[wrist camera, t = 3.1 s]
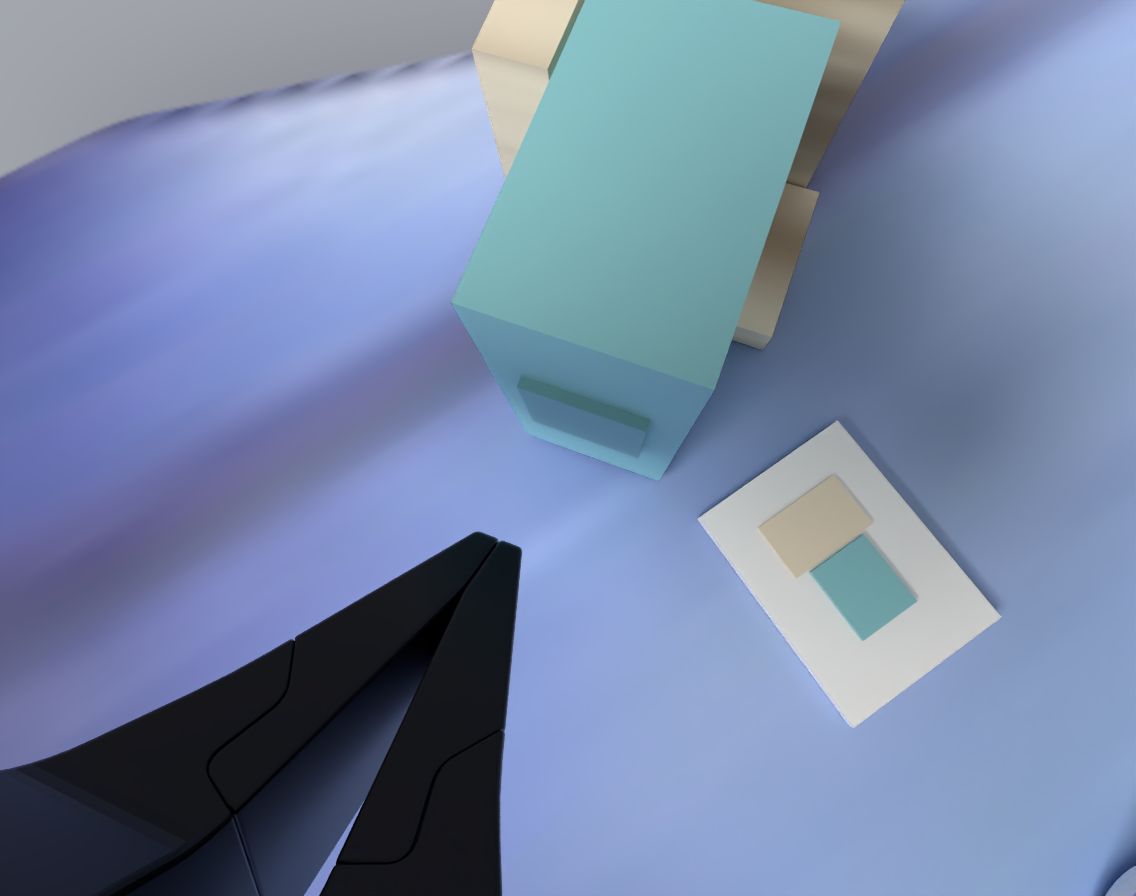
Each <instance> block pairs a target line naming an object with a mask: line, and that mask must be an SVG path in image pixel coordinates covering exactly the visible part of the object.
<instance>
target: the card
mask: <svg viewBox="0 0 1136 896" xmlns="http://www.w3.org/2000/svg"><path fill="white" fill-rule="evenodd" d="M697 520H698V521H699V522H700V524H701V525H702V526H703V528H704V529H705V530H706V532H707V533H708V534H709V536H710V537H711V539H712V540H713V541H714V543H715V544H716V545H717V547H718V548H719V549H720V551H721V552H722V554H723V555H724V556H725V558H726V559H727V560H728V562H729V563H730V564H731V566H732V567H733V568H734V570H735V571H736V573H737V574H738V575H739V577H740V578H741V579H742V581H743V582H744V583H745V585H746V586H747V588H748V589H749V590H750V592H751V593H752V594H753V596H754V597H755V598H756V600H757V601H758V602H759V604H760V605H761V607H762V608H763V609H764V611H765V612H766V613H767V615H768V616H769V617H770V619H771V620H772V622H773V623H774V624H775V626H776V627H777V628H778V630H779V631H780V632H781V634H782V635H783V636H784V638H785V639H786V641H787V642H788V643H789V645H790V646H791V647H792V649H793V650H794V651H795V653H796V654H797V656H798V657H799V658H800V660H801V661H802V662H803V664H804V665H805V666H806V668H807V669H808V670H809V672H810V673H811V675H812V676H813V677H814V679H815V680H816V681H817V683H818V684H819V685H820V687H821V688H822V690H823V691H824V692H825V694H826V695H827V696H828V698H829V699H830V700H831V702H832V703H833V704H834V706H835V707H836V709H837V710H838V711H839V713H840V714H841V715H842V717H843V718H844V719H845V721H846V722H847V723H848V725H850V726H851V727H853V728H854V727H856V726H857V725H858V724H860V723H861V722H862V721H864V720H865V719H866V718H868V717H869V716H870V715H872V714H873V713H874V712H876V711H877V710H878V709H880V708H881V707H882V706H884V705H885V704H886V703H888V702H889V701H890V700H892V699H893V698H894V697H896V696H897V695H898V694H900V693H901V692H902V691H904V690H905V689H906V688H908V687H909V686H910V685H912V684H913V683H914V682H916V681H917V680H918V679H920V678H921V677H922V676H924V675H925V674H926V673H928V672H929V671H930V670H932V669H933V668H935V667H936V666H937V665H939V664H940V663H941V662H943V661H944V660H945V659H947V658H948V657H949V656H951V655H952V654H953V653H955V652H956V651H957V650H959V649H960V648H961V647H963V646H964V645H965V644H967V643H968V642H969V641H971V640H972V639H973V638H975V637H976V636H977V635H979V634H980V633H981V632H983V631H984V630H985V629H987V628H988V627H989V626H991V625H992V624H993V623H995V622H996V621H997V620H999V619H1000V618H1001V616H1000V615H999V614H998V612H997V611H996V610H995V609H994V608H993V606H992V605H991V604H990V603H989V602H988V600H987V599H986V598H985V597H984V596H983V594H982V593H981V592H980V591H979V589H978V588H977V587H976V586H975V585H974V583H973V582H972V581H971V580H970V579H969V577H968V576H967V575H966V574H965V573H964V571H963V570H962V569H961V568H960V567H959V565H958V564H957V563H956V562H955V561H954V559H953V558H952V557H951V556H950V555H949V553H948V552H947V551H946V550H945V549H944V547H943V546H942V545H941V544H940V543H939V541H938V540H937V539H936V538H935V537H934V535H933V534H932V533H931V532H930V531H929V529H928V528H927V527H926V526H925V525H924V523H923V522H922V521H921V520H920V519H919V517H918V516H917V515H916V514H915V513H914V511H913V510H912V509H911V508H910V507H909V505H908V504H907V503H906V502H905V501H904V499H903V498H902V497H901V496H900V495H899V493H898V492H897V491H896V490H895V489H894V487H893V486H892V485H891V484H890V483H889V481H888V480H887V479H886V478H885V477H884V475H883V474H882V473H881V472H880V471H879V469H878V468H877V467H876V466H875V465H874V463H873V462H872V461H871V460H870V459H869V457H868V456H867V455H866V454H865V453H864V451H863V450H862V449H861V448H860V447H859V445H858V444H857V443H856V442H855V441H854V439H853V438H852V437H851V436H850V435H849V433H848V432H847V431H846V430H845V429H844V427H843V426H842V425H841V424H840V423H839V421H838V420H837V421H836V422H834V423H833V424H831V425H830V426H828V427H827V428H826V429H824V430H823V431H821V432H820V433H818V434H817V435H816V436H814V437H813V438H811V439H810V440H808V441H807V442H806V443H804V444H803V445H801V446H800V447H798V448H797V449H796V450H794V451H793V452H791V453H790V454H789V455H787V456H786V457H784V458H783V459H781V460H780V461H779V462H777V463H776V464H774V465H773V466H771V467H770V468H769V469H767V470H766V471H764V472H763V473H761V474H760V475H759V476H757V477H756V478H754V479H753V480H752V481H750V482H749V483H747V484H746V485H744V486H743V487H742V488H740V489H739V490H737V491H736V492H734V493H733V494H732V495H730V496H729V497H727V498H726V499H724V500H723V501H722V502H720V503H719V504H717V505H716V506H715V507H713V508H712V509H710V510H709V511H707V512H706V513H705V514H703V515H702V516H700V517H699V518H697Z"/></svg>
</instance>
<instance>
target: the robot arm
mask: <svg viewBox="0 0 1136 896" xmlns="http://www.w3.org/2000/svg"><path fill="white" fill-rule="evenodd" d="M521 558H522V549H521V548H520V547H518V546H516V545H513V544H511V543H508V542H505V541H500V542H499V541H498V539H497V538H495V537H492V536H490V535H487V534H485V533H482V532H474V533H472V534H470V535H469V536H467V537H465V538H464V539H462V540H460V541H458V542H457V543H455V544H453V545H452V546H450V547H448V548H446V549H445V550H443V551H441V552H440V553H438V554H436V555H434V556H433V557H431V558H429V559H428V560H426V561H424V562H423V563H421V564H419V565H417V566H416V567H414V568H412V569H411V570H409V571H407V572H405V573H404V574H402V575H400V576H399V577H397V578H395V579H393V580H392V581H390V582H388V583H387V584H385V585H383V586H381V587H380V588H378V589H376V590H375V591H373V592H371V593H369V594H368V595H366V596H364V597H363V598H361V599H359V600H357V601H356V602H354V603H352V604H351V605H349V606H347V607H346V608H344V609H342V610H340V611H339V612H337V613H335V614H334V615H332V616H330V617H328V618H327V619H325V620H323V621H322V622H320V623H318V624H316V625H315V626H313V627H311V628H310V629H308V630H306V631H304V632H303V633H301V634H299V635H298V636H296V638H295V641H294V640H292V639H291V640H289V641H287V642H285V643H283V644H282V645H280V646H278V647H277V648H275V649H273V650H272V651H270V652H268V653H266V654H265V655H263V656H261V657H259V658H257V659H255V660H254V661H252V662H250V663H248V664H246V665H245V666H243V667H241V668H239V669H237V670H236V671H234V672H232V673H230V674H228V675H226V676H224V677H222V678H220V679H218V680H216V681H214V682H212V683H210V684H208V685H206V686H204V687H202V688H200V689H198V690H196V691H194V692H192V693H190V694H188V695H186V696H183V697H181V698H179V699H177V700H175V701H173V702H171V703H169V704H166V705H164V706H162V707H160V708H158V709H156V710H154V711H152V712H149V713H147V714H145V715H143V716H141V717H139V718H137V719H135V720H133V721H130V722H128V723H126V724H124V725H122V726H120V727H118V728H116V729H113V730H111V731H109V732H107V733H105V734H103V735H101V736H99V737H97V738H94V739H92V740H90V741H88V742H86V743H83V744H81V745H79V746H77V747H74V748H72V749H70V750H67V751H65V752H62V753H59V754H57V755H54V756H52V757H49V758H46V759H42V760H39V761H36V762H33V763H30V764H26V765H22V766H18V767H15V768H11V769H6V770H1V771H0V896H304V894H305V893H306V891H307V890H308V888H309V887H310V885H311V883H312V882H313V880H314V879H315V877H316V876H317V874H318V872H319V871H320V869H321V868H322V866H323V864H324V863H325V861H326V860H327V858H328V857H329V855H330V853H331V852H332V850H333V849H334V847H335V846H336V844H337V842H338V841H339V839H340V838H341V836H342V835H343V833H344V831H345V830H346V828H347V827H348V825H349V823H350V822H351V820H352V819H353V817H354V816H355V814H356V812H357V811H358V809H359V808H360V806H361V805H362V803H363V801H364V800H365V801H364V803H363V805H362V807H361V809H360V811H359V814H358V816H357V818H356V820H355V822H354V824H353V826H352V828H351V831H350V833H349V835H348V837H347V839H346V841H345V843H344V845H343V848H342V850H341V852H340V854H339V856H338V858H337V861H336V866H334V868H333V869H332V871H331V873H330V875H329V877H328V880H327V882H326V884H325V886H324V888H323V890H322V891H321V893H320V895H319V896H502V872H501V842H500V793H501V776H502V760H503V749H504V739H505V733H504V731H505V726H506V715H507V705H508V694H509V684H510V673H511V663H512V652H513V642H514V631H515V621H516V610H517V600H518V589H519V579H520V568H521ZM365 798H366V799H365Z"/></svg>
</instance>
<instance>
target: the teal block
mask: <svg viewBox="0 0 1136 896" xmlns="http://www.w3.org/2000/svg"><path fill="white" fill-rule="evenodd" d="M840 23H841V21H838V20H834V19H829V18H825V17H821V16H817V15H812V14H808V13H804V12H800V11H796V10H791V9H787V8H783V7H779V6H774V5H770V4H766V3H762V2H758V1H753V0H585V1H584V4H583V6H582V8H581V10H580V13H579V15H578V17H577V19H576V22H575V24H574V26H573V28H572V31H571V33H570V35H569V37H568V40H567V42H566V44H565V46H564V49H563V51H562V53H561V55H560V58H559V60H558V62H557V64H556V67H555V69H554V71H553V73H552V76H551V78H550V80H549V83H548V85H547V87H546V89H545V92H544V94H543V96H542V98H541V101H540V103H539V105H538V107H537V110H536V112H535V114H534V116H533V119H532V121H531V123H530V125H529V128H528V130H527V132H526V134H525V137H524V139H523V141H522V143H521V146H520V148H519V150H518V152H517V155H516V157H515V159H514V161H513V164H512V166H511V168H510V170H509V173H508V175H507V177H506V179H505V182H504V184H503V186H502V188H501V191H500V193H499V195H498V197H497V200H496V202H495V204H494V206H493V209H492V211H491V213H490V215H489V218H488V220H487V222H486V225H485V227H484V229H483V231H482V234H481V236H480V238H479V240H478V243H477V245H476V247H475V249H474V252H473V254H472V256H471V258H470V261H469V263H468V265H467V267H466V270H465V272H464V274H463V276H462V279H461V281H460V283H459V285H458V288H457V290H456V292H455V294H454V297H453V299H452V301H451V304H452V305H453V307H454V309H455V310H456V312H457V314H458V316H459V317H460V319H461V321H462V322H463V324H464V326H465V328H466V329H467V331H468V333H469V335H470V336H471V338H472V340H473V341H474V343H475V345H476V347H477V348H478V350H479V352H480V353H481V355H482V357H483V359H484V360H485V362H486V364H487V365H488V367H489V369H490V371H491V372H492V374H493V376H494V378H495V379H496V381H497V383H498V384H499V386H500V388H501V390H502V391H503V393H504V395H505V396H506V398H507V400H508V402H509V403H510V405H511V407H512V409H513V410H514V412H515V414H516V415H517V417H518V419H519V421H520V422H521V424H522V426H523V427H524V429H525V431H526V433H527V434H528V435H531V436H534V437H537V438H540V439H542V440H545V441H548V442H551V443H554V444H556V445H559V446H562V447H565V448H567V449H570V450H573V451H576V452H579V453H581V454H584V455H587V456H590V457H593V458H595V459H598V460H601V461H604V462H607V463H609V464H612V465H615V466H618V467H620V468H623V469H626V470H629V471H632V472H634V473H637V474H640V475H643V476H646V477H648V478H651V479H654V480H657V481H659V480H660V479H661V477H662V475H663V474H664V472H665V470H666V469H667V467H668V466H669V464H670V462H671V461H672V459H673V457H674V456H675V454H676V452H677V451H678V449H679V447H680V446H681V444H682V443H683V441H684V439H685V438H686V436H687V434H688V433H689V431H690V429H691V428H692V426H693V425H694V423H695V421H696V420H697V418H698V416H699V415H700V413H701V411H702V410H703V408H704V407H705V405H706V403H707V402H708V400H709V398H710V397H711V395H712V393H713V392H714V390H715V387H716V384H717V381H718V379H719V376H720V373H721V370H722V367H723V364H724V361H725V358H726V355H727V352H728V349H729V347H730V344H731V341H732V338H733V335H734V332H735V329H736V326H737V323H738V320H739V317H740V315H741V312H742V309H743V306H744V303H745V300H746V297H747V294H748V291H749V288H750V285H751V282H752V280H753V277H754V274H755V271H756V268H757V265H758V262H759V259H760V256H761V253H762V250H763V248H764V245H765V242H766V239H767V236H768V233H769V230H770V227H771V224H772V221H773V218H774V215H775V213H776V210H777V207H778V204H779V201H780V198H781V195H782V192H783V189H784V186H785V183H786V181H787V178H788V175H789V172H790V169H791V166H792V163H793V160H794V157H795V154H796V151H797V148H798V146H799V143H800V140H801V137H802V134H803V131H804V128H805V125H806V122H807V119H808V116H809V114H810V111H811V108H812V105H813V102H814V99H815V96H816V93H817V90H818V87H819V84H820V81H821V79H822V76H823V73H824V70H825V67H826V64H827V61H828V58H829V55H830V52H831V49H832V47H833V44H834V41H835V38H836V35H837V32H838V29H839V26H840Z"/></svg>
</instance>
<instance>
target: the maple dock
mask: <svg viewBox="0 0 1136 896" xmlns="http://www.w3.org/2000/svg"><path fill="white" fill-rule="evenodd" d="M584 1H585V0H495V1H494V3H493V5H492V8H491V10H490V12H489V14H488V16H487V18H486V20H485V22H484V24H483V26H482V28H481V31H480V33H479V35H478V37H477V39H476V41H475V43H474V45H473V47H472V52H473V56H474V60H475V63H476V67H477V71H478V75H479V79H480V83H481V87H482V91H483V95H484V98H485V102H486V106H487V110H488V114H489V118H490V122H491V126H492V130H493V133H494V137H495V141H496V145H497V149H498V153H499V157H500V161H501V164H502V168H503V172H504V176H505V179H506V177H507V175H508V173H509V170H510V168H511V166H512V164H513V161H514V159H515V157H516V155H517V152H518V150H519V148H520V146H521V143H522V141H523V139H524V137H525V134H526V132H527V130H528V128H529V125H530V123H531V121H532V119H533V116H534V114H535V112H536V110H537V107H538V105H539V103H540V101H541V98H542V96H543V94H544V92H545V89H546V87H547V85H548V83H549V80H550V78H551V76H552V73H553V71H554V69H555V67H556V64H557V62H558V60H559V58H560V55H561V53H562V51H563V49H564V46H565V44H566V42H567V40H568V37H569V35H570V33H571V31H572V28H573V26H574V24H575V22H576V19H577V17H578V15H579V13H580V10H581V8H582V6H583V4H584ZM753 1H758V2H762V3H766V4H770V5H774V6H779V7H783V8H787V9H791V10H796V11H800V12H804V13H808V14H812V15H817V16H821V17H825V18H829V19H834V20H838V21H841V23H840V26H839V29H838V32H837V35H836V38H835V41H834V44H833V47H832V49H831V52H830V55H829V58H828V61H827V64H826V67H825V70H824V73H823V76H822V79H821V81H820V84H819V87H818V90H817V93H816V96H815V99H814V102H813V105H812V108H811V111H810V114H809V116H808V119H807V122H806V125H805V128H804V131H803V134H802V137H801V140H800V143H799V146H798V148H797V151H796V154H795V157H794V160H793V163H792V166H791V169H790V172H789V175H788V178H787V181H786V183H785V186H784V189H783V192H782V195H781V198H780V201H779V204H778V207H777V210H776V213H775V215H774V218H773V221H772V224H771V227H770V230H769V233H768V236H767V239H766V242H765V245H764V248H763V250H762V253H761V256H760V259H759V262H758V265H757V268H756V271H755V274H754V277H753V280H752V282H751V285H750V288H749V291H748V294H747V297H746V300H745V303H744V306H743V309H742V312H741V315H740V317H739V320H738V323H737V326H736V329H735V332H734V335H733V338H732V340H733V341H736V342H739V343H742V344H745V345H748V346H752V347H755V348H758V349H761V350H763V349H764V348H765V346H766V345H767V343H768V342H769V341H770V339H771V338H772V336H773V332H774V329H775V326H776V323H777V320H778V317H779V314H780V311H781V308H782V305H783V302H784V299H785V296H786V293H787V290H788V287H789V284H790V281H791V278H792V275H793V272H794V269H795V266H796V263H797V260H798V257H799V254H800V251H801V248H802V245H803V242H804V239H805V236H806V232H807V229H808V226H809V223H810V220H811V217H812V214H813V211H814V208H815V205H816V202H817V199H818V196H819V193H820V192H817V191H813V190H809V189H806V187H807V186H808V184H809V182H810V180H811V178H812V176H813V174H814V172H815V170H816V168H817V167H818V165H819V163H820V161H821V159H822V157H823V155H824V153H825V151H826V149H827V148H828V146H829V144H830V142H831V140H832V138H833V136H834V134H835V132H836V130H837V129H838V127H839V125H840V123H841V121H842V119H843V117H844V115H845V113H846V112H847V110H848V108H849V106H850V104H851V102H852V100H853V98H854V96H855V94H856V93H857V91H858V89H859V87H860V85H861V83H862V81H863V79H864V77H865V75H866V74H867V72H868V70H869V68H870V66H871V64H872V62H873V60H874V58H875V56H876V55H877V53H878V51H879V49H880V47H881V45H882V43H883V41H884V39H885V38H886V36H887V34H888V32H889V30H890V28H891V26H892V24H893V22H894V20H895V19H896V17H897V15H898V13H899V11H900V9H901V7H902V5H903V3H904V1H905V0H753Z"/></svg>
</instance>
